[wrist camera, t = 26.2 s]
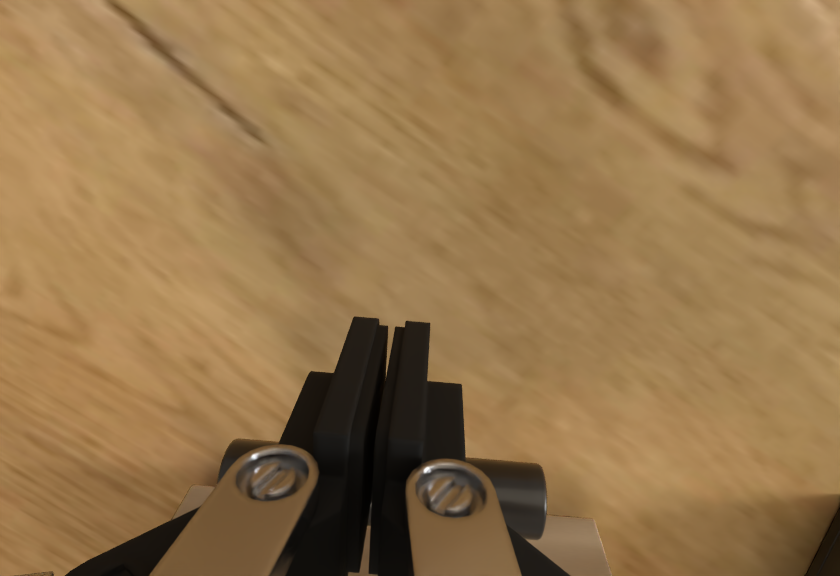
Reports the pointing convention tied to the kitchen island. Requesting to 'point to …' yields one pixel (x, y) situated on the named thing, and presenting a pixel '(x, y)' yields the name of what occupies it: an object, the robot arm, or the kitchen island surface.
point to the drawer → (519, 500)
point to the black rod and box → (828, 553)
